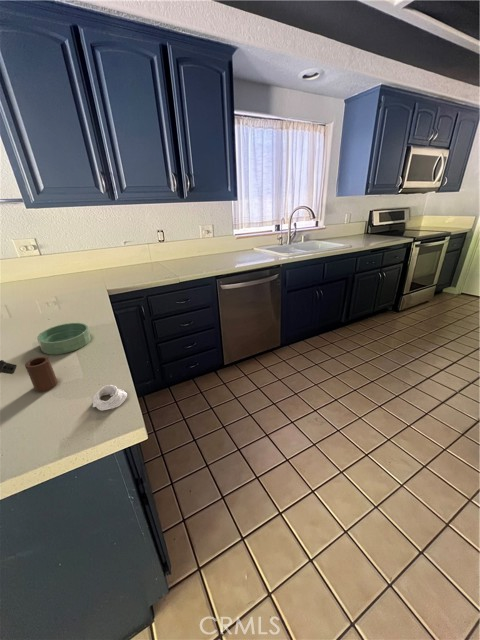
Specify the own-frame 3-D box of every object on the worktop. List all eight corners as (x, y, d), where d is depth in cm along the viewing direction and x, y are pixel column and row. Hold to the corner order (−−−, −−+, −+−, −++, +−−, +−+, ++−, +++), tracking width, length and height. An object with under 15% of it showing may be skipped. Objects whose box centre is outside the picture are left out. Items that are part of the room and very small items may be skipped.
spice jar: (32, 395, 71) (21, 369, 67) (39, 383, 75) (29, 357, 72) (54, 391, 72) (44, 365, 68) (60, 379, 77) (51, 354, 73)
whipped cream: (128, 394, 72) (126, 378, 71) (126, 409, 66) (124, 392, 65) (96, 398, 70) (93, 382, 68) (91, 414, 64) (88, 397, 62)
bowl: (35, 359, 86) (29, 345, 84) (50, 337, 100) (46, 325, 97) (86, 351, 90) (82, 338, 88) (94, 332, 104) (91, 320, 101)
